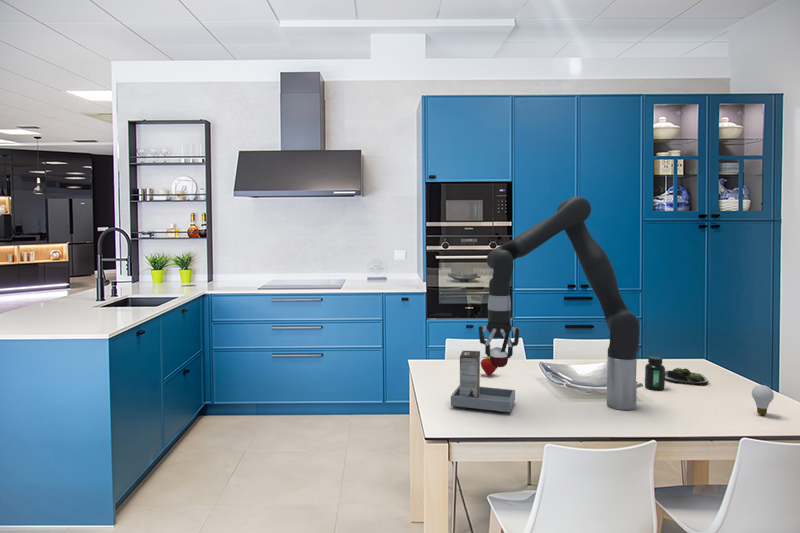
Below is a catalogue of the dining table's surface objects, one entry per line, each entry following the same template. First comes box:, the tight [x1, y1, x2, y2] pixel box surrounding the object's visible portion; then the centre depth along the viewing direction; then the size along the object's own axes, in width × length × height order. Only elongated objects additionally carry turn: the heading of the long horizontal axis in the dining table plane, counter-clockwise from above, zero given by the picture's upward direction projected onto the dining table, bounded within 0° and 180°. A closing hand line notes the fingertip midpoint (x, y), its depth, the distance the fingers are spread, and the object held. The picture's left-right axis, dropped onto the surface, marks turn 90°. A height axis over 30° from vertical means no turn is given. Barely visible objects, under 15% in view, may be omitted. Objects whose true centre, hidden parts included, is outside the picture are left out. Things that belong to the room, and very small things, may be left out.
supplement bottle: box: [644, 356, 666, 392], centre depth 196 cm, size 7×7×12 cm
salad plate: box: [665, 367, 709, 387], centre depth 211 cm, size 19×18×5 cm
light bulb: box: [751, 384, 775, 416], centre depth 167 cm, size 6×6×10 cm
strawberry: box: [480, 355, 498, 377], centre depth 214 cm, size 6×8×10 cm
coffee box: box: [459, 350, 481, 398], centre depth 178 cm, size 9×6×16 cm
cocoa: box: [490, 332, 510, 368], centre depth 174 cm, size 10×6×12 cm, turn 3°
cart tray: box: [450, 384, 516, 414], centre depth 177 cm, size 20×14×4 cm
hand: (498, 356), depth 174 cm, fingers closed on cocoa, 6 cm apart
